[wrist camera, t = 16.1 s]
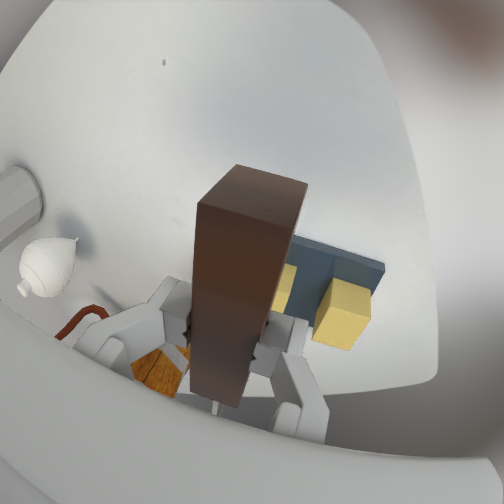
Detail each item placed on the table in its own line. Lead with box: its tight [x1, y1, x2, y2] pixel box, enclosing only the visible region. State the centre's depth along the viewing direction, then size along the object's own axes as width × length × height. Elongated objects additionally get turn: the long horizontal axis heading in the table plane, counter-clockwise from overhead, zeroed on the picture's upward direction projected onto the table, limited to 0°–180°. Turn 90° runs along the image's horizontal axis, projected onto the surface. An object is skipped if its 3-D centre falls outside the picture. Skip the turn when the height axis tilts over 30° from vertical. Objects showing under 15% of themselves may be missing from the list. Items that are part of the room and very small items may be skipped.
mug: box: [55, 304, 190, 399], centre depth 39 cm, size 20×14×15 cm
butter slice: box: [311, 278, 371, 351], centre depth 28 cm, size 5×4×4 cm
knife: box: [190, 164, 308, 417], centre depth 15 cm, size 21×2×3 cm, turn 170°
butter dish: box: [283, 235, 385, 328], centre depth 31 cm, size 10×16×1 cm, turn 80°
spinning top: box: [17, 237, 79, 297], centre depth 33 cm, size 8×8×12 cm
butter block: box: [271, 263, 297, 313], centre depth 29 cm, size 5×7×4 cm
